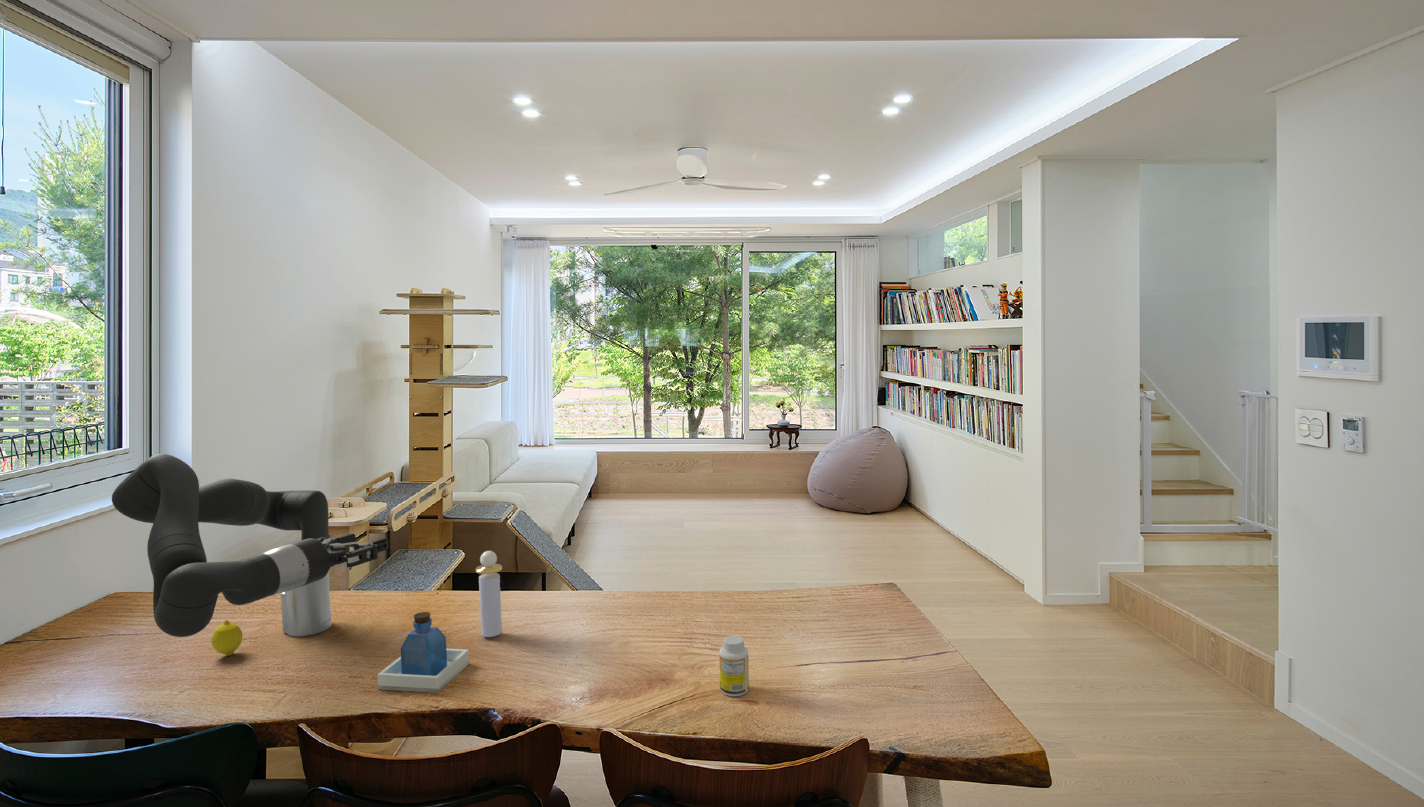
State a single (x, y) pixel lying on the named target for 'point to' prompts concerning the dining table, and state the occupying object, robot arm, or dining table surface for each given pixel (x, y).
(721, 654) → the supplement bottle
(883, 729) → the dining table surface
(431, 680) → the dish
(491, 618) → the perfume bottle
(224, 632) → the fruit
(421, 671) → the perfume bottle
